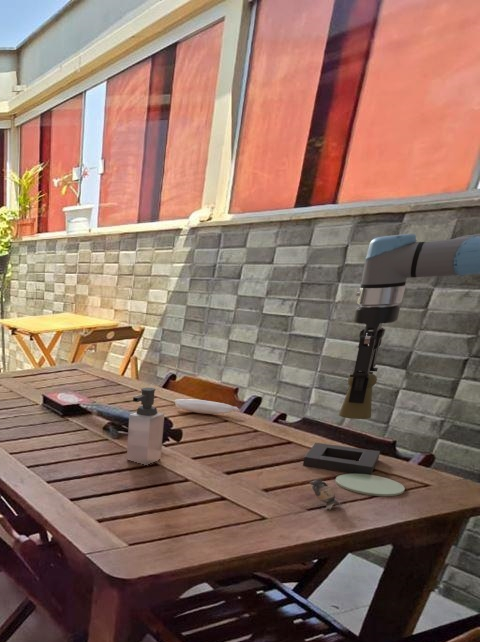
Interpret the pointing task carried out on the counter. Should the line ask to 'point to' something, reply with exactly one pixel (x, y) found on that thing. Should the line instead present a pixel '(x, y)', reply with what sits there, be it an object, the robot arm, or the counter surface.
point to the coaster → (369, 484)
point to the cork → (358, 408)
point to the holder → (320, 459)
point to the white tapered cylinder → (204, 406)
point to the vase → (324, 493)
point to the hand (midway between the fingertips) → (358, 399)
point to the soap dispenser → (145, 430)
